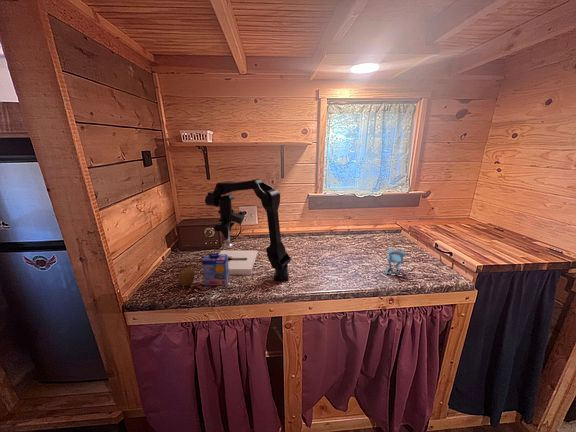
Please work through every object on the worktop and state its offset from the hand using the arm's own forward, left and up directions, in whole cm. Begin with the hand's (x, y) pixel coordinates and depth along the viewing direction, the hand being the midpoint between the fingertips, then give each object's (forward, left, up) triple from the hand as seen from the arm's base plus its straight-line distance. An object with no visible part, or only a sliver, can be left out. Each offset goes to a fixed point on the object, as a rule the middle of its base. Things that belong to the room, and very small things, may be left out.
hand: (227, 238), depth 113 cm
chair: (-7, -80, -14) cm, 82 cm away
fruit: (-20, +13, -14) cm, 28 cm away
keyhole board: (-1, -3, -13) cm, 14 cm away
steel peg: (0, 0, -4) cm, 4 cm away
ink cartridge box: (-18, +1, -14) cm, 22 cm away
